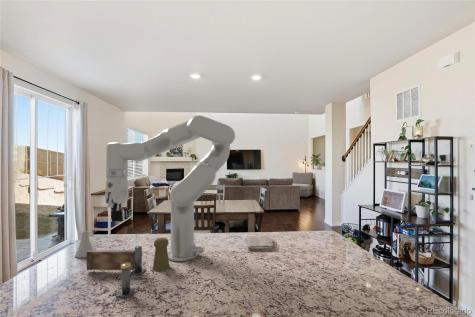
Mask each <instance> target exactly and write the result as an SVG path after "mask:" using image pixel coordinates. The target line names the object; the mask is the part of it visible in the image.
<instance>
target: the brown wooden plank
mask: <svg viewBox="0 0 475 317" xmlns="http://www.w3.org/2000/svg"><path fill="white" fill-rule="evenodd" d="M123 263H131V267H130V271H133V270H134V269H135V249H134V250H133V249H132V250H129V249H128V250H125V249H123V250H118V249H117V250H115V249H113V250H112V249H111V250H110V249H108V250H107V249H106V250H105V249H101V250H100V249H94V250H89V251H87V257H86V271H121V264H123Z"/></svg>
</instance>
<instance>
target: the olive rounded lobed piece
mask: <svg viewBox="0 0 475 317" xmlns="http://www.w3.org/2000/svg"><path fill="white" fill-rule="evenodd" d="M153 245H154V246H153V247H154V248H155V250H154V256H153V257H154V258H153V263H152V264H153V265H152V271H154V272H165V271H167V270H169V269H170V268H171V267H170V260H169V259H168V253H169V252H168V246H169V240H168V238H167V237H158V238H156V239H155V240H154V242H153Z"/></svg>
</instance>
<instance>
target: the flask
mask: <svg viewBox="0 0 475 317" xmlns="http://www.w3.org/2000/svg"><path fill="white" fill-rule="evenodd" d="M90 232H91V231H90V230H85V231H81V232H80V234H81V236H80V242H79V245H78V248H77V250H76V252H75V255H74V258H78V259H79V258H80V259H81V258H87V251H89V250H95V249H94V247H93V245H92V242H91V240H90V239H91V238H90Z"/></svg>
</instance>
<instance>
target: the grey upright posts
mask: <svg viewBox="0 0 475 317" xmlns="http://www.w3.org/2000/svg"><path fill="white" fill-rule="evenodd" d="M134 250H135V269H134V270H130V267H131V263H123V264H121V270H120V271H121V274H120V276H121V281H120V282H121V284H120V285H121V287H120V290H119V292H118V293H117V294H116V295H115V298H122V299H123V298H128V299H129V298H130V297H131V296H132V295H133V294H134V293H135V291H136V288H131V276H133V275H135V276H142V275H143V274H144V273H145V272H146V271H147V268H145V267H144V268H143V247H142V246H140V245H137V246H135V247H134Z"/></svg>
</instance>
